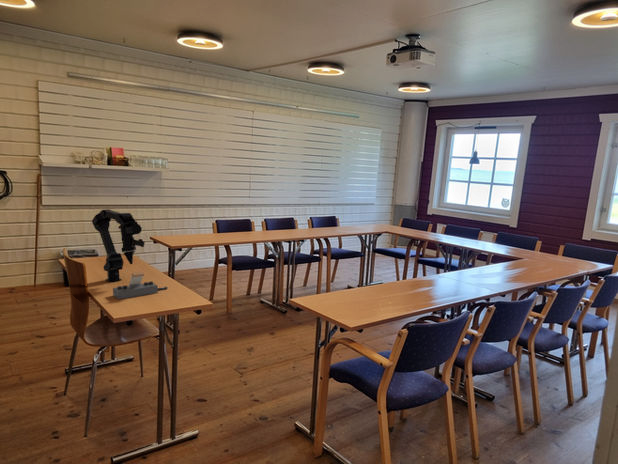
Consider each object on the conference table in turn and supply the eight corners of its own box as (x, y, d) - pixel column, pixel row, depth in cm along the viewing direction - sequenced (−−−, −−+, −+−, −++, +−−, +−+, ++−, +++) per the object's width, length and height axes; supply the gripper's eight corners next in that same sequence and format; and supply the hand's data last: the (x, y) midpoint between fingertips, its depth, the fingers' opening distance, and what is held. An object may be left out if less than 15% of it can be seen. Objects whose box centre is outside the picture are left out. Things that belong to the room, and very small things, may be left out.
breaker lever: (128, 284, 223) (132, 272, 218) (139, 282, 227) (142, 270, 222) (129, 287, 222) (133, 275, 217) (140, 285, 226) (144, 273, 221)
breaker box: (113, 295, 220) (112, 285, 219) (163, 287, 238) (163, 277, 238) (118, 299, 214) (118, 289, 213) (170, 290, 233) (170, 280, 232)
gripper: (142, 233, 229) (146, 262, 229) (143, 234, 247) (147, 261, 247) (119, 236, 225) (124, 265, 226) (122, 236, 243) (126, 264, 243)
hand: (131, 264), depth 236 cm, fingers closed
